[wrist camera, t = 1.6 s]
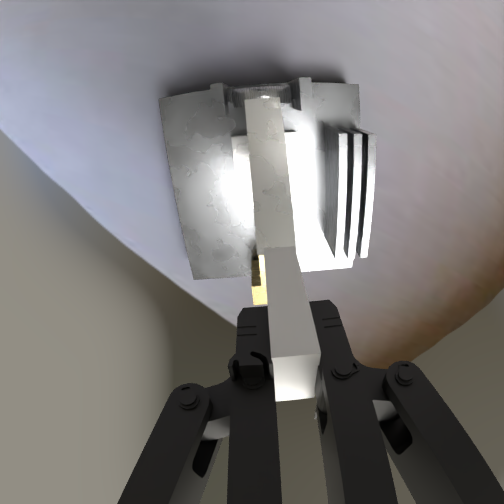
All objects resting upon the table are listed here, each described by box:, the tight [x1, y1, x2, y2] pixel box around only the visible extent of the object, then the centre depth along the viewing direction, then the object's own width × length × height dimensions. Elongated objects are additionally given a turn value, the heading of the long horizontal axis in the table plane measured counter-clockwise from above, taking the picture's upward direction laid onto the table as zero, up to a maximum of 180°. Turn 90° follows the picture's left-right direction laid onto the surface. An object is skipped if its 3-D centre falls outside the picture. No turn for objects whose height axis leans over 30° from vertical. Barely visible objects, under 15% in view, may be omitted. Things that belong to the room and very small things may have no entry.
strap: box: [232, 85, 296, 255], centre depth 18 cm, size 12×4×1 cm, turn 5°
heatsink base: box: [159, 77, 376, 280], centre depth 23 cm, size 18×16×7 cm
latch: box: [252, 255, 267, 305], centre depth 25 cm, size 5×4×4 cm
